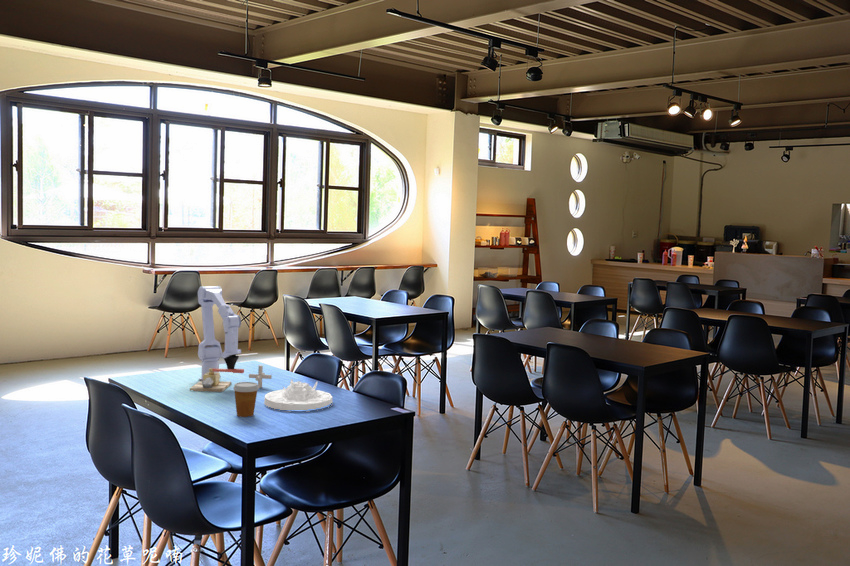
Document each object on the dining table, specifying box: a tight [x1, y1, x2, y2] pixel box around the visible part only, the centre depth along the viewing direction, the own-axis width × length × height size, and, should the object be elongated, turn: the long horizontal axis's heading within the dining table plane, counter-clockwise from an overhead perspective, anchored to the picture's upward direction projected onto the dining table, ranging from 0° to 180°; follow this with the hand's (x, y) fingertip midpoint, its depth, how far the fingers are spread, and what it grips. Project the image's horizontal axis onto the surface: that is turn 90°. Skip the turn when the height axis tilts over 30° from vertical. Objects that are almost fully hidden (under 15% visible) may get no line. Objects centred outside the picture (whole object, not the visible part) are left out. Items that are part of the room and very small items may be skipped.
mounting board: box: [189, 380, 232, 393], centre depth 317 cm, size 16×14×1 cm
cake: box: [263, 378, 334, 411], centre depth 295 cm, size 28×28×10 cm
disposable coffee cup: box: [232, 381, 260, 418], centre depth 273 cm, size 10×10×12 cm
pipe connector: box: [248, 364, 273, 389], centre depth 321 cm, size 10×10×10 cm
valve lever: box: [209, 368, 245, 374], centre depth 317 cm, size 15×3×1 cm, turn 91°
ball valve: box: [202, 371, 221, 388], centre depth 317 cm, size 16×6×7 cm, turn 1°
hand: (230, 371), depth 319 cm, fingers closed
